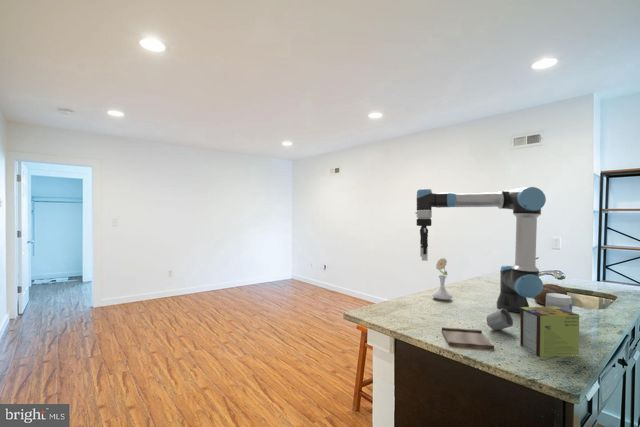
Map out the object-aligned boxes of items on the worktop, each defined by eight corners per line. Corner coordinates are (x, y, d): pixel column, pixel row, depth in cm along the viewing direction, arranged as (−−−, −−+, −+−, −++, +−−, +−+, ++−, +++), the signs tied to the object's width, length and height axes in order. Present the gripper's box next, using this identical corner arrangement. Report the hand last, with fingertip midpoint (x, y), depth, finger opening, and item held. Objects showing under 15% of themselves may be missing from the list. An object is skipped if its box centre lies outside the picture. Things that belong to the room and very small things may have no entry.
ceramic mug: (498, 332, 141) (493, 315, 145) (515, 328, 135) (510, 310, 140) (482, 327, 137) (478, 310, 141) (499, 322, 131) (494, 304, 136)
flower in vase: (430, 295, 196) (430, 255, 196) (449, 296, 194) (449, 256, 194) (435, 301, 183) (435, 258, 183) (455, 302, 181) (456, 259, 181)
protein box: (579, 357, 114) (580, 314, 114) (539, 358, 113) (540, 315, 113) (555, 344, 125) (556, 305, 124) (519, 346, 123) (519, 306, 123)
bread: (528, 303, 182) (529, 288, 182) (539, 291, 208) (540, 278, 208) (562, 309, 171) (563, 293, 171) (569, 296, 198) (570, 282, 198)
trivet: (481, 334, 134) (481, 330, 134) (494, 351, 119) (494, 345, 119) (441, 331, 137) (441, 327, 137) (449, 347, 122) (449, 342, 122)
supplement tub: (575, 333, 137) (576, 299, 137) (550, 330, 140) (550, 297, 139) (566, 325, 146) (566, 293, 146) (542, 322, 149) (542, 292, 149)
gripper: (415, 217, 179) (415, 255, 179) (417, 218, 155) (417, 261, 155) (429, 217, 177) (429, 255, 177) (433, 219, 153) (433, 262, 153)
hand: (423, 258), depth 166 cm, fingers open, 13 cm apart
